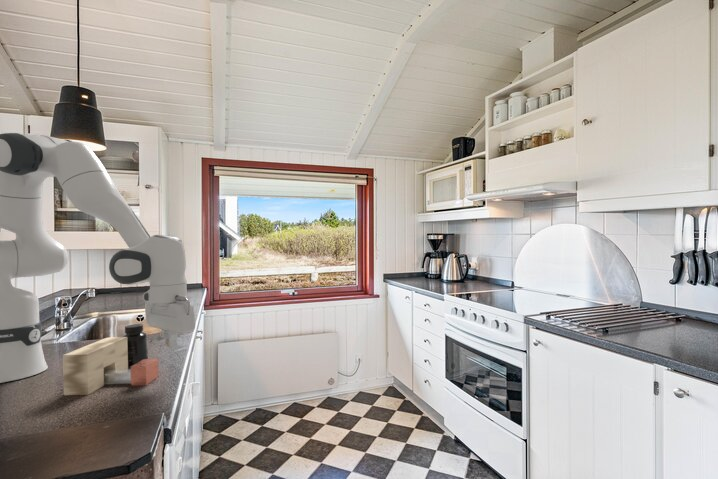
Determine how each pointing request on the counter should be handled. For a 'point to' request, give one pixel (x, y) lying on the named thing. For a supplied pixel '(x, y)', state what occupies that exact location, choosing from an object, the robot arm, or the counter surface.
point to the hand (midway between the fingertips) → (170, 346)
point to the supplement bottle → (136, 344)
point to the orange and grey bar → (134, 374)
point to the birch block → (93, 364)
